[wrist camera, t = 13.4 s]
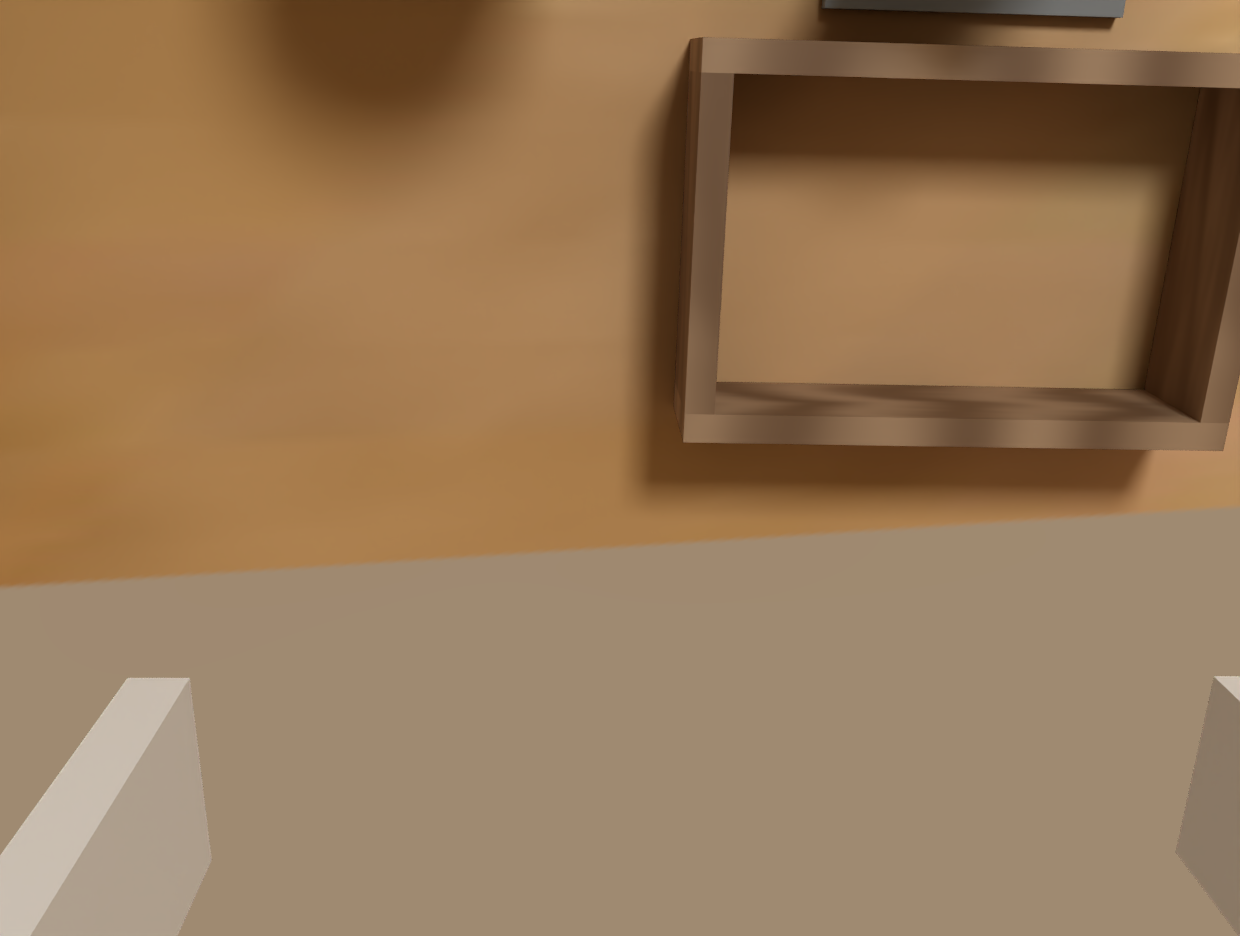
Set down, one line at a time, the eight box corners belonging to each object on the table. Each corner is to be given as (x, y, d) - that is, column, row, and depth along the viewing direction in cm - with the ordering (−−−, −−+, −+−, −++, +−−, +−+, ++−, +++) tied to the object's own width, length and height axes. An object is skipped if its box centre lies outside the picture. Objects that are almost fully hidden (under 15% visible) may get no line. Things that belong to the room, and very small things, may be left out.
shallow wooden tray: (673, 407, 51) (683, 442, 47) (690, 39, 46) (703, 37, 42) (1165, 415, 52) (1223, 450, 48) (1235, 55, 47) (1307, 55, 43)
